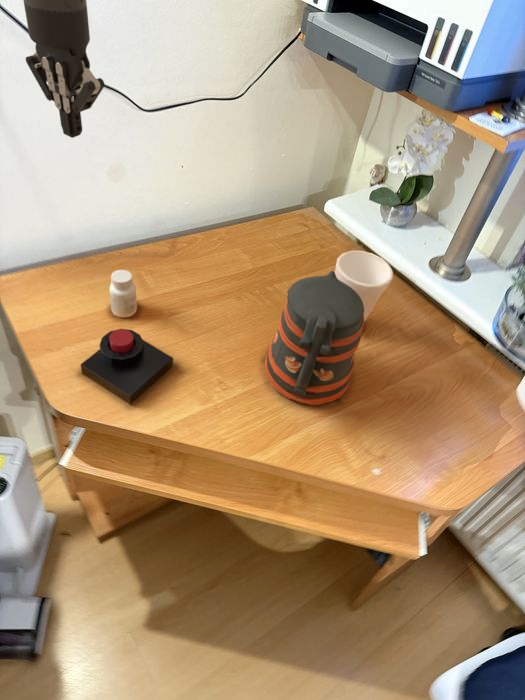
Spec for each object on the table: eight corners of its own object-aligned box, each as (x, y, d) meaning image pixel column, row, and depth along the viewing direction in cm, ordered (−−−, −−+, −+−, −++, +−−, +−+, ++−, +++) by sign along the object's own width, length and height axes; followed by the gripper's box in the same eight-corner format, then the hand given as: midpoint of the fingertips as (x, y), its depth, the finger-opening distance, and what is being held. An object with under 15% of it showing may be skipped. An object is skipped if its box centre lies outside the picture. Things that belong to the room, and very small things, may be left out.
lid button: (105, 346, 80) (104, 338, 79) (121, 333, 83) (120, 326, 82) (122, 357, 79) (122, 349, 78) (138, 344, 82) (138, 336, 81)
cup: (368, 308, 102) (389, 253, 92) (374, 344, 95) (397, 289, 85) (318, 301, 101) (334, 246, 91) (321, 338, 94) (338, 282, 84)
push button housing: (80, 372, 81) (77, 355, 78) (125, 337, 87) (123, 320, 84) (130, 405, 78) (129, 388, 75) (173, 366, 84) (173, 350, 81)
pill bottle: (139, 303, 93) (138, 269, 88) (133, 320, 90) (131, 286, 85) (115, 299, 93) (112, 265, 88) (108, 316, 90) (104, 281, 85)
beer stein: (344, 438, 79) (384, 350, 65) (251, 417, 80) (270, 324, 65) (351, 352, 92) (386, 262, 78) (271, 334, 93) (291, 241, 78)
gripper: (116, 10, 65) (123, 142, 78) (41, -18, 69) (59, 113, 82) (71, 19, 61) (86, 158, 73) (-7, -12, 64) (20, 126, 77)
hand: (72, 134), depth 77 cm, fingers closed
